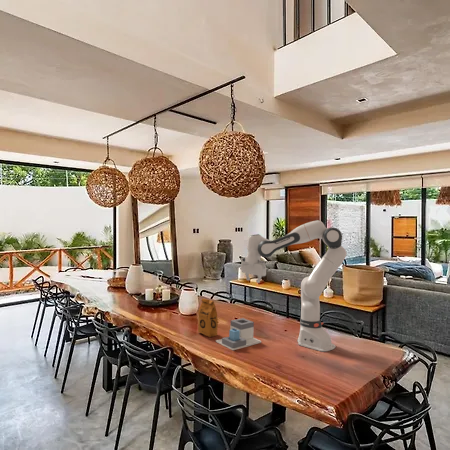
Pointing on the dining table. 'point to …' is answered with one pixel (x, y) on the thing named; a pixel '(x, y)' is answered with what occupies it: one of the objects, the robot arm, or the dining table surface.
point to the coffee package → (207, 318)
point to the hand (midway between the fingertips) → (253, 281)
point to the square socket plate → (245, 335)
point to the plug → (234, 334)
